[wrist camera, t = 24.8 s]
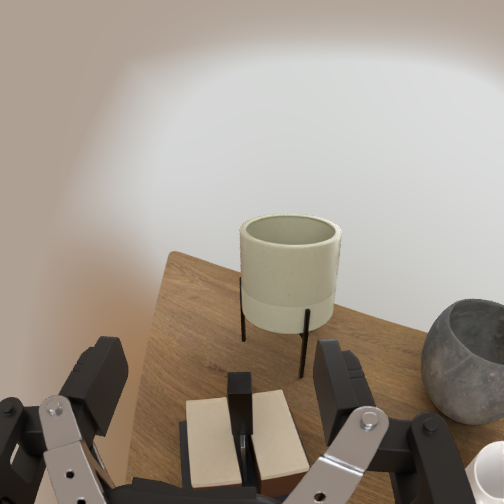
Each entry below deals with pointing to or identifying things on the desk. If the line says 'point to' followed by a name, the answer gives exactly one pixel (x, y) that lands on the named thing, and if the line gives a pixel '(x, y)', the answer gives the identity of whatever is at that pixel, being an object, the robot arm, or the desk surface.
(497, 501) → the cup
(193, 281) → the desk surface
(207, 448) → the cake
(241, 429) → the knife
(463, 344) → the bowl
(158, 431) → the desk surface
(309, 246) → the planter
